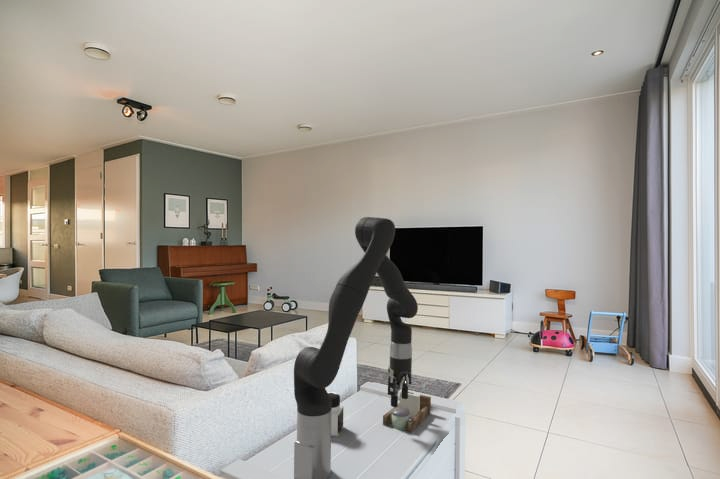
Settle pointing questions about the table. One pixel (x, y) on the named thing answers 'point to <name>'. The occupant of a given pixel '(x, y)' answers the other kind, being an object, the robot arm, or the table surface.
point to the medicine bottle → (336, 414)
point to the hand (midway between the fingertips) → (399, 402)
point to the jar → (400, 418)
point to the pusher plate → (411, 404)
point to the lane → (418, 418)
